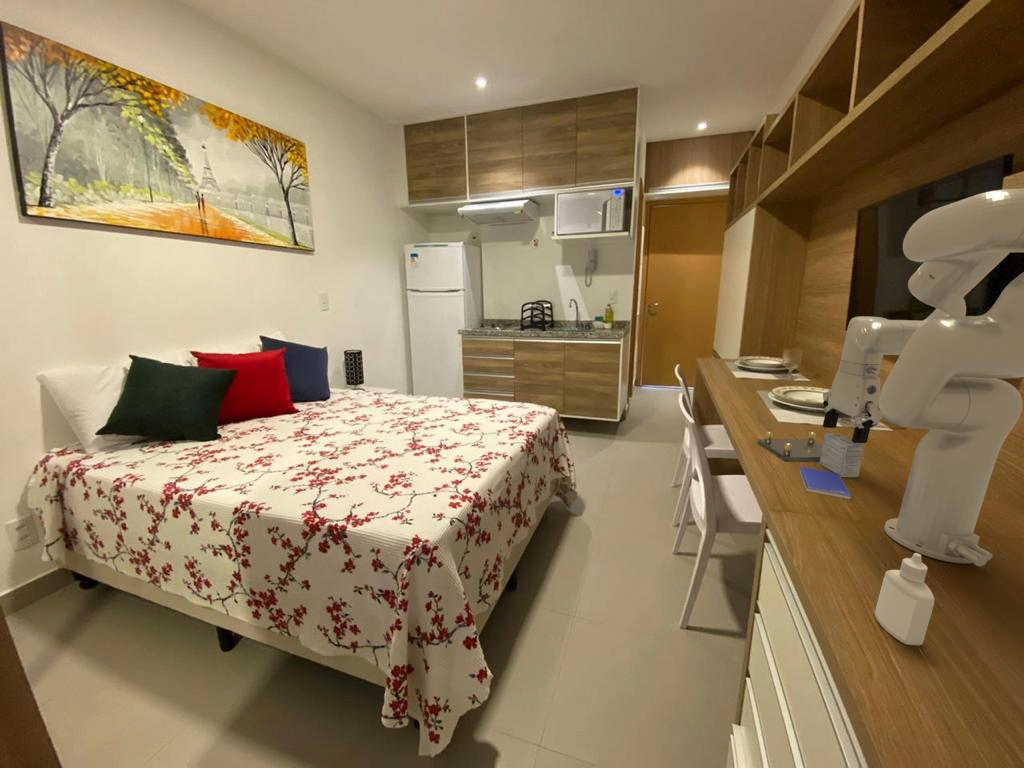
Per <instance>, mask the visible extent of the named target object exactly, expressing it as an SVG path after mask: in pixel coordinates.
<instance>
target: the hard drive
mask: <svg viewBox="0 0 1024 768" xmlns="http://www.w3.org/2000/svg"><path fill="white" fill-rule="evenodd" d="M799 470H800V471H799V473H800V477H801V479H802V483H803V486H804V487H805V492H809V493H813V494H820V495H826V496H830V497H836V498H840V499H846V500H850V499H851V500H852V495H851V493H850V491H849V489H848V488H847V485H846V484H845V482H844V480H843V479H842V477H840V475H839V474H837V473H834V472H832V471H825V470H820V469H814V468H810V467H809V468H808V467H803V466H800V467H799Z"/></svg>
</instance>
